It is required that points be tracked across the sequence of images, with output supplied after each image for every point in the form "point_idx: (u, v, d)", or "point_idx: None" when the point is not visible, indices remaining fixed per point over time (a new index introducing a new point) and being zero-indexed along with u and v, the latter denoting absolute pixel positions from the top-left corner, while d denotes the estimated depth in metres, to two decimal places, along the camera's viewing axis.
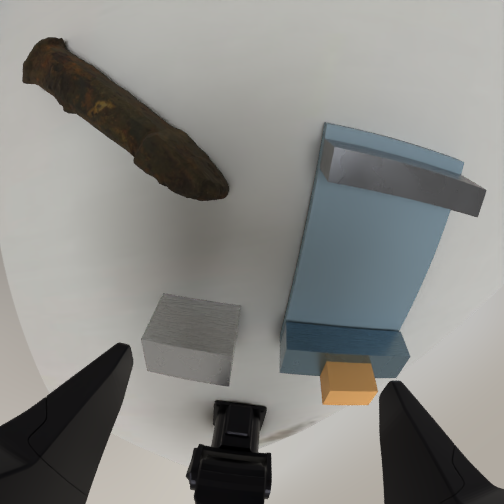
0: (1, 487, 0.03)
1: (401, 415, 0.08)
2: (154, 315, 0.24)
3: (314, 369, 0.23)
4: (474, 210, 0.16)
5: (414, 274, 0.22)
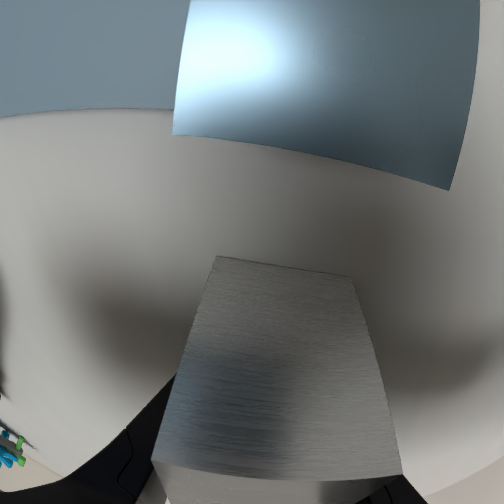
0: None
1: None
2: None
3: None
4: None
5: None
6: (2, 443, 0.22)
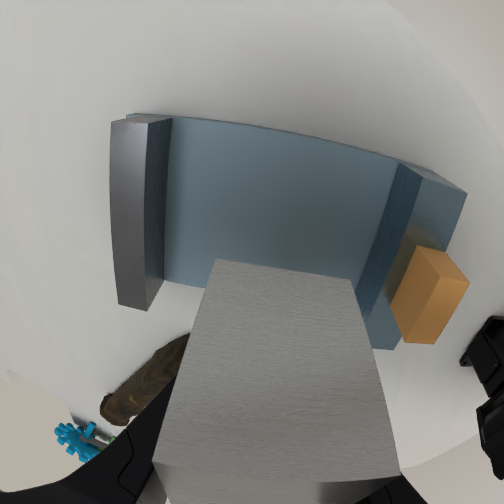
0: None
1: None
2: None
3: None
4: (139, 133, 0.13)
5: (293, 155, 0.16)
6: (97, 444, 0.37)
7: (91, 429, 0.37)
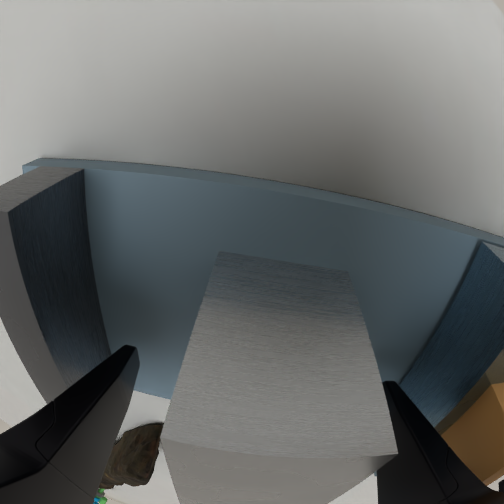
0: (10, 493, 0.03)
1: (395, 415, 0.08)
2: None
3: None
4: (1, 229, 0.05)
5: (305, 235, 0.09)
6: None
7: None
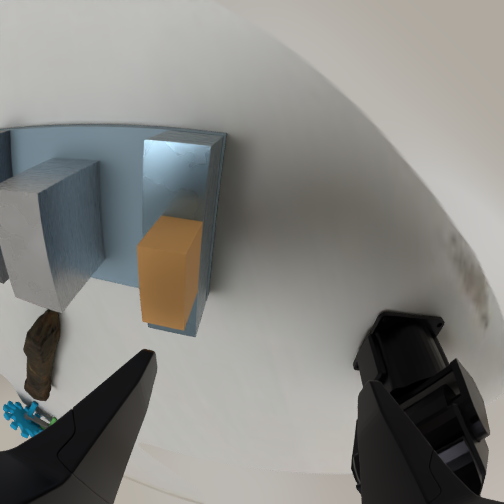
0: None
1: (377, 416, 0.08)
2: None
3: None
4: None
5: (79, 144, 0.15)
6: (39, 423, 0.36)
7: (34, 408, 0.36)
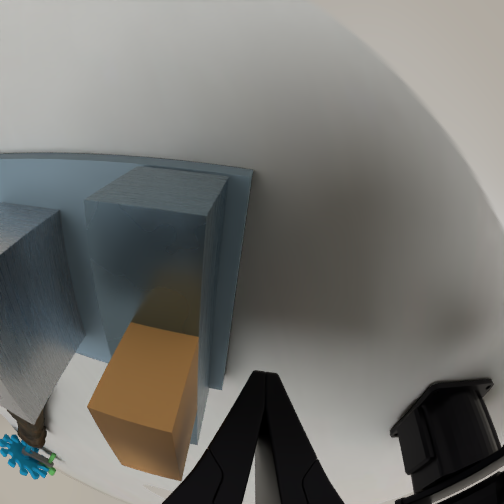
0: None
1: (263, 411, 0.08)
2: None
3: None
4: None
5: (31, 185, 0.10)
6: (38, 459, 0.30)
7: None
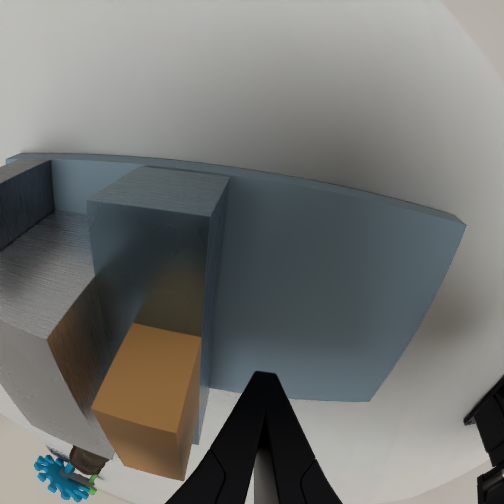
0: None
1: (262, 411, 0.08)
2: None
3: None
4: None
5: None
6: (78, 480, 0.30)
7: (72, 466, 0.30)
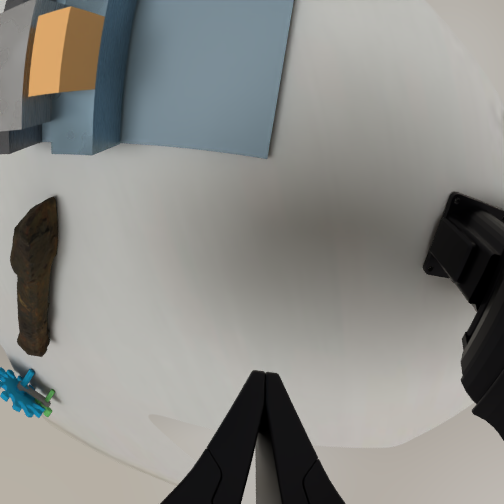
0: None
1: (264, 411, 0.08)
2: None
3: (81, 103, 0.12)
4: (19, 0, 0.08)
5: None
6: (34, 395, 0.32)
7: (29, 377, 0.32)
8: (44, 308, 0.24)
